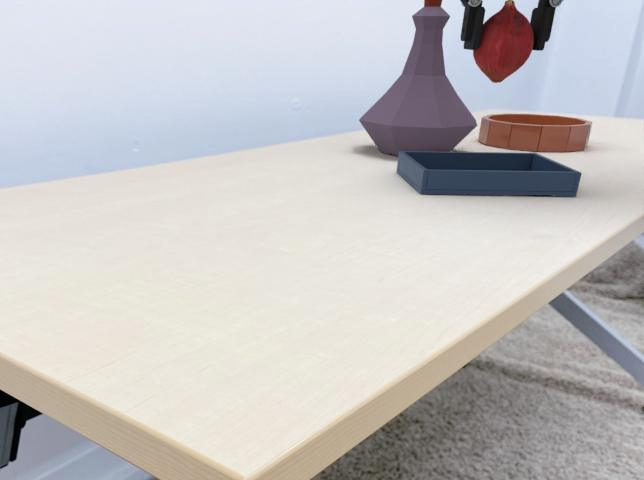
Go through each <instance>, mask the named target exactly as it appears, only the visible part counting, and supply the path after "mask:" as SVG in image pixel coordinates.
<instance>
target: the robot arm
mask: <svg viewBox="0 0 644 480" xmlns="http://www.w3.org/2000/svg"><path fill="white" fill-rule="evenodd" d="M563 1H564V0H538V2H537V7H534V8H533V9H532V11H531V16H530V21H529V22H530V25H531V27H532V30H533V33H534V44H533V50H532V51H537V52H538V51H539V52H540V51H544V49H545V47H546V43H548V42H549V41H550V38H551V35H552V28H553V24H554V18H555V15H556V14H555V13H556V9H557V8H558V7H560V6H561V5H562V3H563ZM483 2H484V1H483V0H460V4H461V6H462V7H464V11H463V18H462V24H461V32H460V41H461V42H463V50H467V51H468V50H469V51H473V50H477V49H479V47H480V41H481V34H482V28H483V24H484V23H485V14H486V8H485V6H483Z"/></svg>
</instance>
